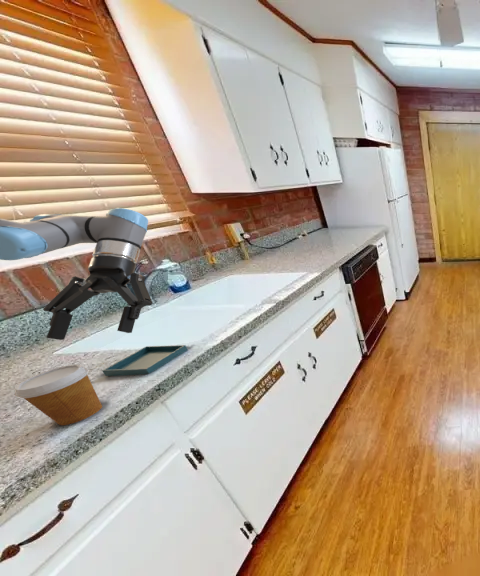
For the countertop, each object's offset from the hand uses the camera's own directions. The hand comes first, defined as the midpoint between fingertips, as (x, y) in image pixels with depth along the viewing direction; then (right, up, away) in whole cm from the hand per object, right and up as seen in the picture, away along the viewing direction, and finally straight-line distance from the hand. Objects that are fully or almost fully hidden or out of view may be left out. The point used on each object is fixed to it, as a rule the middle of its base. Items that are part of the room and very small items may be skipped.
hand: (90, 335), depth 74 cm
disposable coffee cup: (+2, -19, -3) cm, 20 cm away
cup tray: (-5, -11, +16) cm, 20 cm away
